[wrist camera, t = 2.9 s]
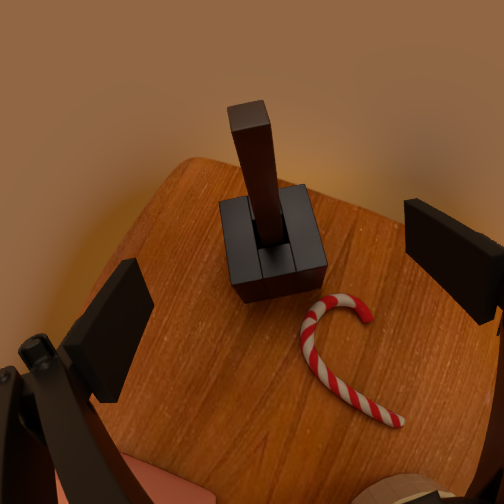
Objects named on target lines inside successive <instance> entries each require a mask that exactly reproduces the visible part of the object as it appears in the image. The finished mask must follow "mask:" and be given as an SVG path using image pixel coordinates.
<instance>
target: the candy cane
mask: <svg viewBox="0 0 504 504" xmlns="http://www.w3.org/2000/svg"><path fill="white" fill-rule="evenodd" d="M337 306H347V307H350V308H352V309H354V310H355V311H356V312H357V313H358V314H359V316H360V318H361V319H362V321H363V323H368V322H371V321H373V315H372V313H371V312H370V310H369V308H368V307H367V306H366V305H365V303H364V302H362V301H361V300H360V299H358V298H356V297H354V296H352V295H348V294H332V295H328V296H325V297H323V298H322V299H320V300H319V301H317V302H316V303H315V304H314V305H313V306H312V307H311V308H310V310H309V311H308V312H307V314H306V316H305V318H304V320H303V323H302V327H301V333H300V341H301V347H302V351H303V354H304V357H305V359H306V361H307V363H308V365H309V366H310V368H311V370H312V371H313V372H314V374H315V375H316V376H317V377H318V378H319V380H320V381H321V382H322V383H323V384H324V385H325V386H326V387H328V388H329V389H330V390H331V391H332V392H334V393H335V394H336V395H338V396H339V397H341V398H342V399H343V400H345V401H346V402H348V403H349V404H351V405H352V406H354V407H356V408H357V409H359V410H360V411H362V412H364V413H365V414H367V415H369V416H371V417H373V418H375V419H377V420H379V421H381V422H383V423H385V424H387V425H389V426H392V427H394V428H398V429H400V428H402V427H403V425H404V424H405V418H404V417H402V416H400V415H398V414H396V413H394V412H392V411H390V410H388V409H386V408H384V407H382V406H380V405H378V404H376V403H374V402H373V401H371V400H369V399H368V398H366V397H364V396H363V395H361V394H360V393H358V392H357V391H355V390H354V389H352V388H351V387H349V386H348V385H347V384H345V383H344V382H343V381H341V380H340V379H339V378H338V377H336V376H335V375H334V374H333V373H332V372H331V371H330V370H329V369H328V368H327V367H326V365H325V364H324V363H323V362H322V360H321V359H320V357H319V355H318V353H317V351H316V348H315V344H314V331H315V327H316V324H317V322H318V320H319V319H320V317H321V316H322V315H323V314H324V313H325V312H326V311H327V310H329V309H330V308H333V307H337Z"/></svg>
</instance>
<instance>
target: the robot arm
mask: <svg viewBox="0 0 504 504" xmlns="http://www.w3.org/2000/svg"><path fill="white" fill-rule="evenodd" d="M404 212H405V242H406V253H407V254H408V255H409V256H410V257H411V258H412V259H413V260H414V261H416V262H417V263H418V264H419V265H420V266H421V267H422V268H423V269H424V270H425V271H426V272H427V273H428V274H429V275H430V276H431V277H432V278H433V279H434V280H435V281H436V282H437V283H438V284H440V285H441V286H442V287H443V288H444V289H445V290H446V291H447V292H448V293H449V294H450V295H451V296H452V298H453V299H454V300H455V301H456V302H457V303H458V304H459V305H460V306H461V307H462V308H463V309H464V310H465V311H466V312H467V313H468V314H469V315H470V316H471V317H472V318H473V319H474V320H475V322H476V323H477V324H478V325H479V326H480V325H482V324H484V323H487V322H489V321H491V320H493V319H494V317H495V312H496V308H497V305H498V306H499V307H500V308H501V309H502V310H503V312H502V316H501V320H500V324H499V328H498V332H497V335H496V336H499V334H500V345H499V357H498V367H497V376H496V384H495V391H494V397H493V403H492V409H491V414H490V419H489V424H488V429H487V433H486V438H485V442H484V446H483V450H482V453H481V457H480V461H479V464H478V468H477V471H476V474H475V476H474V479H473V481H472V483H471V485H470V487H469V488H468V490H467V492H466V494H465V496H464V497H446V498H441V497H440V495H439V492H438V490H435V491H433V492H431V493H428V494H426V495H423V496H421V497H418V498H416V499H413V500H411V501H408V502H405V503H403V504H504V247H503V246H501V245H499V244H497V243H496V242H495V241H493V240H491V239H490V238H489V237H487V236H485V235H484V234H481V233H479V232H475V231H474V230H472V229H470V228H469V227H467V226H465V225H464V224H462V223H460V222H459V221H457V220H455V219H454V218H452V217H450V216H448V215H447V214H445V213H443V212H441V211H439V210H437V209H436V208H434V207H432V206H430V205H429V204H427V203H425V202H423V201H421V200H419V199H417V198H416V199H410V200H405V201H404ZM153 308H154V303H153V301H152V298H151V296H150V293H149V291H148V288H147V286H146V283H145V281H144V278H143V276H142V273H141V270H140V268H139V265H138V262H137V260H136V257H135V258H131V259H127V260H122V261H121V263H120V264H119V265H118V267H117V268H116V269H115V271H114V272H113V273H112V275H111V276H110V277H109V279H108V280H107V281H106V283H105V284H104V286H103V287H102V288H101V290H100V291H99V292H98V294H97V295H96V297H95V298H94V299H93V301H92V302H91V304H90V305H89V307H88V308H87V309H86V311H85V312H84V314H83V315H82V316H81V317H80V318H79V319H78V320H76V321H75V323H74V324H73V326H72V327H71V330H69V332H68V333H67V336H65V338H64V339H63V341H62V342H61V344H60V345H59V347H58V348H57V350H55V348H54V347H53V345H52V343H51V342H50V340H49V338H48V336H47V335H46V334H43V333H41V334H36V335H34V336H32V337H30V338H29V339H27V340H26V341H25V342H24V343H23V344H22V345H21V347H20V348H19V350H18V354H19V355H20V357H21V359H22V360H23V362H24V363H25V364H26V366H27V368H28V369H29V370H30V373H26V374H23V375H20V374H19V372H18V371H17V370H16V368H15V367H14V366H7V367H5V368H2V369H0V504H58V496H57V487H56V477H55V470H56V473H57V475H58V478H59V481H60V483H61V486H62V489H63V491H64V494H65V496H66V498H67V501H68V503H69V504H154V502H153V501H152V500H151V498H150V497H149V495H148V494H147V493H146V491H145V490H144V489H143V487H142V486H141V484H140V483H139V481H138V480H137V478H136V477H135V475H134V474H133V473H132V471H131V469H130V468H129V466H128V465H127V463H126V462H125V460H124V459H123V457H122V455H121V454H120V452H119V451H118V449H117V447H116V446H115V444H114V442H113V440H112V439H111V437H110V435H109V434H108V432H107V430H106V428H105V426H104V425H103V423H102V421H101V419H100V417H99V415H98V413H97V412H96V410H95V408H94V406H93V405H92V403H91V402H90V401H89V398H90V396H91V394H92V393H93V394H94V395H95V397H96V398H97V400H98V401H99V402H100V403H117V401H118V399H119V396H120V393H121V390H122V387H123V385H124V382H125V379H126V376H127V374H128V371H129V368H130V366H131V363H132V361H133V358H134V355H135V353H136V350H137V348H138V345H139V342H140V340H141V337H142V335H143V332H144V330H145V327H146V325H147V322H148V320H149V318H150V315H151V313H152V310H153Z"/></svg>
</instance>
